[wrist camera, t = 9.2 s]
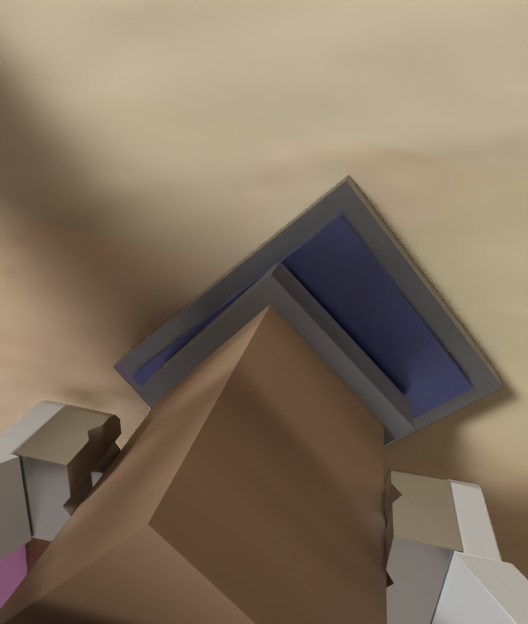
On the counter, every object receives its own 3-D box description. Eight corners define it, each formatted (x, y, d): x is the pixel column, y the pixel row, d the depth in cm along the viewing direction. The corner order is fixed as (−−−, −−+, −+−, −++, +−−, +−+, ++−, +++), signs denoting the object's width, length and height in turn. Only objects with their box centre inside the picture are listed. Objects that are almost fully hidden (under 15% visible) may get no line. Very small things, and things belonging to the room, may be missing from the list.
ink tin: (258, 492, 16) (248, 523, 14) (129, 350, 15) (107, 371, 13) (494, 367, 12) (505, 393, 11) (348, 175, 11) (345, 182, 10)
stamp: (274, 488, 13) (179, 833, 7) (155, 371, 13) (-68, 631, 6) (411, 403, 11) (452, 762, 5) (279, 261, 11) (142, 471, 5)
